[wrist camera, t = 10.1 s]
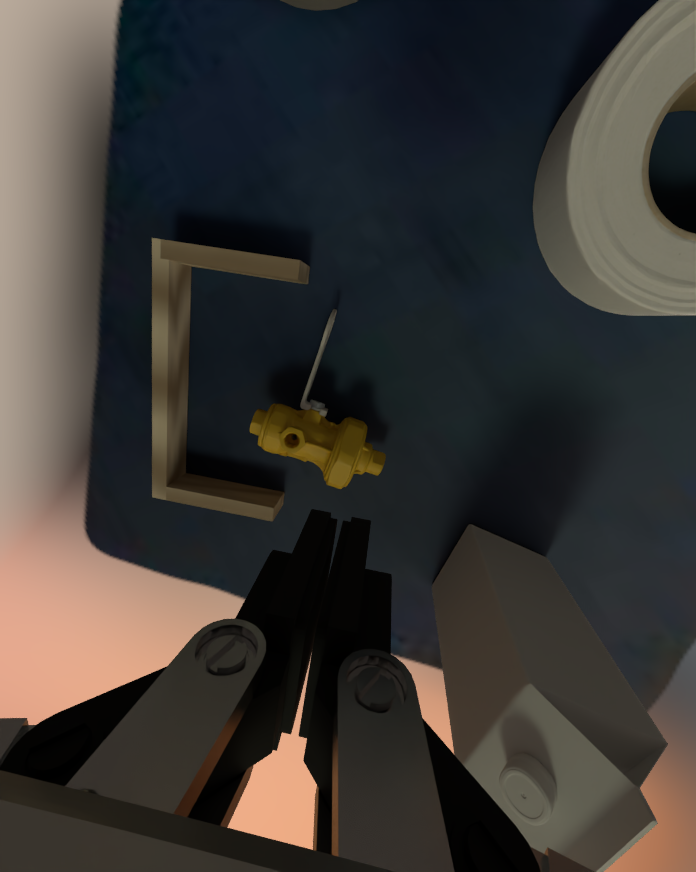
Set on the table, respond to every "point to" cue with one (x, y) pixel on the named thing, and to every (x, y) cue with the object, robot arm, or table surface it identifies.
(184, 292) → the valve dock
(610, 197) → the roll of tape
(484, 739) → the milk carton
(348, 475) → the pressure relief valve
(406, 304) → the table surface
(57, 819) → the robot arm
